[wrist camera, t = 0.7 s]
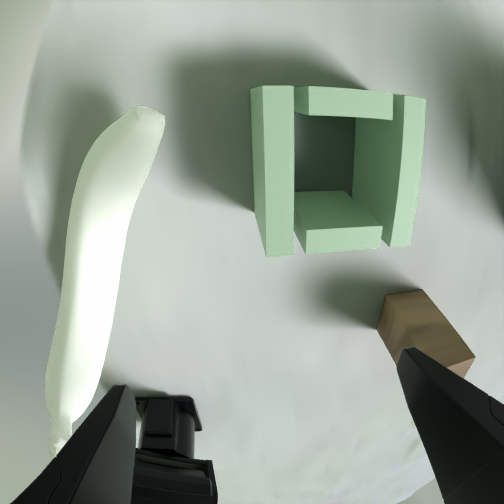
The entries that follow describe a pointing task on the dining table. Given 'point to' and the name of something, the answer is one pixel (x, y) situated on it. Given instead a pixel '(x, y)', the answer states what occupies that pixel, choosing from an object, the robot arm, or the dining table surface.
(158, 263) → the dining table surface
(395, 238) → the green open frame
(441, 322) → the walnut peg
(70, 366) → the banana
